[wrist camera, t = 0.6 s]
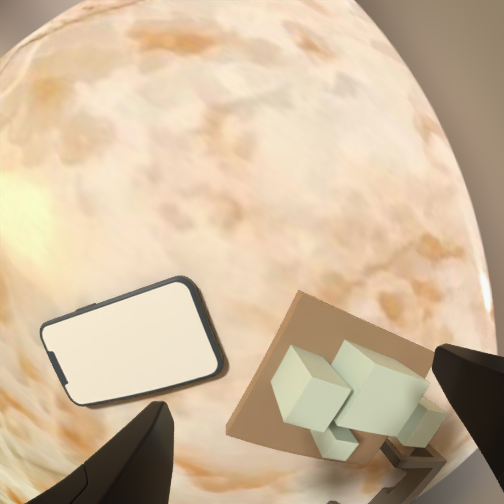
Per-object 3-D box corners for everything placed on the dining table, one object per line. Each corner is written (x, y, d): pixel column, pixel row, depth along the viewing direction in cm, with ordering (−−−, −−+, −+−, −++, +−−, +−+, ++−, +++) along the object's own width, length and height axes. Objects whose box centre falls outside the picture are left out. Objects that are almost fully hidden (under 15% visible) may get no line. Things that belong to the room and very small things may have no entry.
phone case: (190, 269, 23) (43, 321, 21) (188, 270, 21) (34, 325, 20) (228, 366, 23) (80, 402, 22) (228, 374, 22) (74, 409, 20)
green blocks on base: (361, 457, 24) (388, 498, 16) (225, 425, 23) (226, 480, 15) (429, 349, 24) (476, 373, 17) (298, 290, 23) (329, 309, 15)
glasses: (428, 443, 25) (447, 461, 20) (375, 505, 24) (387, 525, 20) (382, 438, 24) (401, 460, 19) (325, 505, 24) (335, 528, 19)
